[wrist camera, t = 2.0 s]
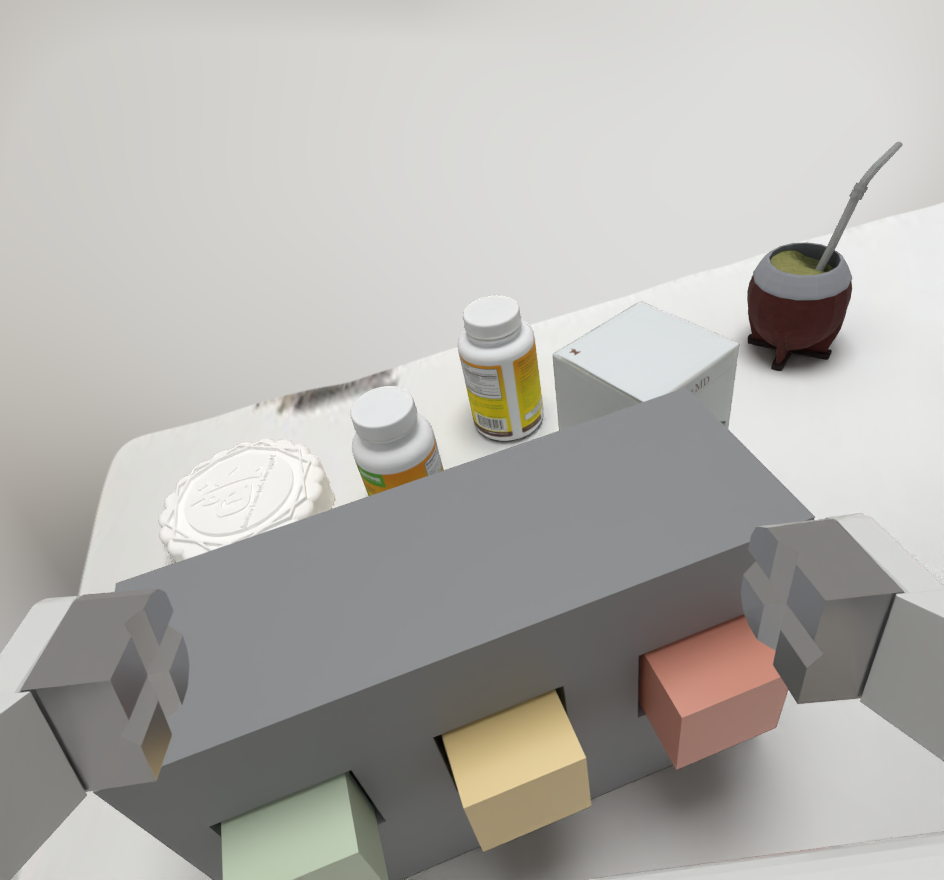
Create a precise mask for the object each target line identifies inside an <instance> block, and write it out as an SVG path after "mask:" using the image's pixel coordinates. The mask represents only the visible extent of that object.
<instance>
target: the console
mask: <svg viewBox="0 0 944 880" xmlns="http://www.w3.org/2000/svg"><path fill="white" fill-rule="evenodd" d="M814 518H815V516H814V515H813V514H812V513H811V512H810V511H809V510H808V509H807V508H806V507H805V506H804V505H803V504H802V503H801V502H800V501H799V500H798V499H797V498H796V497H795V496H794V495H793V494H792V493H791V492H790V491H789V490H788V489H787V488H786V487H785V486H784V485H783V484H782V483H781V482H780V481H779V480H778V479H777V478H776V477H775V476H774V475H773V474H772V473H771V472H770V471H769V470H768V469H767V468H766V467H765V466H764V465H763V464H762V463H761V462H760V461H759V460H758V459H757V458H756V457H755V456H754V455H753V454H752V453H751V452H750V451H749V450H748V449H747V448H746V447H745V446H744V445H743V444H742V443H741V442H740V441H739V440H738V439H737V438H736V437H735V436H734V435H733V434H732V433H731V432H730V431H729V430H728V429H727V428H726V427H725V426H724V425H723V424H722V423H721V422H720V421H719V420H718V419H717V418H716V417H715V416H714V415H713V414H712V413H711V412H710V411H709V410H708V409H707V408H706V407H705V406H704V405H703V404H702V403H701V402H700V401H699V400H698V399H697V398H696V397H695V395H694V394H693V393H692V392H691V391H690V390H689V389H688V388H687V387H685V388H682V389H680V390H677V391H674V392H671V393H668V394H665V395H662V396H659V397H656V398H653V399H650V400H648V401H645V402H642V403H639V404H636V405H633V406H630V407H627V408H624V409H621V410H619V411H616V412H613V413H610V414H607V415H604V416H601V417H598V418H595V419H592V420H589V421H587V422H584V423H581V424H578V425H575V426H572V427H569V428H566V429H563V430H560V431H557V432H555V433H552V434H549V435H546V436H543V437H540V438H537V439H534V440H531V441H528V442H526V443H523V444H520V445H517V446H514V447H511V448H508V449H505V450H502V451H499V452H496V453H494V454H491V455H488V456H485V457H482V458H479V459H476V460H473V461H470V462H467V463H464V464H462V465H459V466H456V467H453V468H450V469H447V470H444V471H441V472H438V473H435V474H433V475H430V476H427V477H424V478H421V479H418V480H415V481H412V482H409V483H406V484H403V485H401V486H398V487H395V488H392V489H389V490H386V491H383V492H380V493H377V494H374V495H371V496H369V497H366V498H363V499H360V500H357V501H354V502H351V503H348V504H345V505H342V506H340V507H337V508H334V509H331V510H328V511H325V512H322V513H319V514H316V515H313V516H310V517H308V518H305V519H302V520H299V521H296V522H293V523H290V524H287V525H284V526H281V527H278V528H276V529H273V530H270V531H267V532H264V533H261V534H258V535H255V536H252V537H249V538H247V539H244V540H241V541H238V542H235V543H232V544H229V545H226V546H223V547H220V548H217V549H215V550H212V551H209V552H206V553H203V554H200V555H197V556H194V557H191V558H188V559H186V560H183V561H180V562H177V563H174V564H171V565H168V566H165V567H162V568H159V569H156V570H154V571H151V572H148V573H145V574H142V575H139V576H136V577H133V578H130V579H127V580H124V581H122V582H119V583H116V588H115V592H124V591H136V590H148V589H160V590H162V591H164V592H166V594H167V596H168V598H169V601H170V603H171V606H172V608H173V610H174V611H173V614H172V616H171V619H170V621H169V624H168V626H170V627H171V628H173V629H174V630H176V631H177V632H179V633H180V634H182V635H183V638H184V641H185V644H186V646H187V650H188V657H189V664H190V666H189V678H188V688H187V691H186V694H185V698H184V701H183V704H182V706H181V707H180V708H179V709H178V710H177V711H176V712H175V713H174V714H173V715H171V716H170V717H169V718H168V719H167V723H168V725H169V728H170V730H171V733H172V737H171V740H170V743H169V746H168V749H167V752H166V755H165V758H164V760H163V763H162V766H161V769H160V772H159V775H158V778H157V781H155V782H148V783H141V784H135V785H128V786H121V787H114V788H108V789H101V790H94V791H93V793H94V794H96V795H97V796H99V797H100V798H101V799H103V800H104V801H105V802H107V803H108V804H110V805H111V806H112V807H114V808H115V809H116V810H118V811H119V812H121V813H122V814H123V815H125V816H126V817H127V818H129V819H130V820H132V821H133V822H134V823H136V824H137V825H139V826H140V827H141V828H143V829H144V830H145V831H147V832H148V833H150V834H151V835H152V836H154V837H155V838H156V839H158V840H159V841H161V842H162V843H163V844H165V845H166V846H167V847H169V848H170V849H172V850H173V851H174V852H176V853H177V854H178V855H180V856H181V857H183V858H184V859H185V860H187V861H188V862H189V863H191V864H192V865H194V866H195V867H196V868H198V869H199V870H200V871H202V872H203V873H205V874H206V875H207V876H209V877H210V878H211V879H213V880H223V869H222V837H221V822H222V821H224V820H227V819H229V818H232V817H234V816H237V815H240V814H242V813H245V812H247V811H250V810H252V809H255V808H257V807H260V806H262V805H265V804H267V803H270V802H272V801H275V800H277V799H280V798H282V797H285V796H287V795H290V794H292V793H295V792H297V791H300V790H302V789H305V788H307V787H310V786H312V785H315V784H317V783H320V782H323V781H325V780H328V779H330V778H333V777H335V776H338V775H340V774H343V773H345V772H348V771H349V773H350V774H351V775H352V777H353V778H354V780H355V781H356V783H357V784H358V786H359V787H360V789H361V790H362V791H363V793H364V794H365V796H366V797H367V799H368V800H369V802H370V803H371V805H372V806H373V808H374V809H375V814H376V819H377V824H378V829H379V834H380V839H381V844H382V849H383V854H384V860H385V865H386V870H387V875H388V880H402V879H404V878H407V877H409V876H411V875H414V874H416V873H418V872H421V871H423V870H426V869H428V868H430V867H433V866H435V865H437V864H440V863H442V862H444V861H447V860H449V859H452V858H454V857H456V856H459V855H461V854H463V853H466V852H468V851H470V850H473V849H475V848H477V847H480V844H479V842H478V840H477V837H476V835H475V833H474V831H473V828H472V826H471V824H470V822H469V820H468V817H467V815H466V813H465V811H464V808H463V805H462V802H461V798H460V795H459V791H458V788H457V785H456V781H455V778H454V774H453V771H452V768H451V764H450V761H449V758H448V754H447V751H446V747H445V744H444V741H443V737H442V734H443V733H446V732H448V731H451V730H453V729H456V728H458V727H461V726H463V725H466V724H468V723H471V722H473V721H476V720H478V719H481V718H483V717H486V716H489V715H491V714H494V713H496V712H499V711H501V710H504V709H506V708H509V707H511V706H514V705H516V704H519V703H521V702H524V701H526V700H529V699H531V698H534V697H536V696H539V695H541V694H544V693H546V692H549V691H551V690H554V689H555V690H556V692H557V695H558V697H559V699H560V701H561V703H562V706H563V708H564V710H565V712H566V714H567V717H568V719H569V721H570V723H571V725H572V728H573V730H574V732H575V734H576V736H577V739H578V741H579V743H580V745H581V747H582V750H583V752H584V754H585V756H586V761H587V770H588V780H589V789H590V798H591V799H593V798H595V797H598V796H600V795H603V794H605V793H607V792H610V791H612V790H614V789H617V788H619V787H621V786H624V785H626V784H629V783H631V782H633V781H636V780H638V779H640V778H643V777H645V776H647V775H650V774H652V773H654V772H657V771H659V770H662V769H664V768H666V767H669V766H671V765H673V763H672V761H671V759H670V758H669V756H668V754H667V752H666V750H665V748H664V747H663V745H662V743H661V741H660V739H659V738H658V736H657V734H656V732H655V730H654V728H653V727H652V725H651V723H650V721H649V719H648V718H647V716H646V714H645V712H644V710H643V708H642V707H641V705H640V703H639V655H642V654H644V653H647V652H649V651H652V650H655V649H657V648H660V647H662V646H665V645H667V644H670V643H672V642H675V641H677V640H680V639H682V638H685V637H687V636H690V635H692V634H695V633H697V632H700V631H702V630H705V629H707V628H710V627H712V626H715V625H717V624H720V623H722V622H725V621H727V620H730V619H732V618H735V617H738V616H740V615H743V614H744V612H743V605H742V598H741V587H742V580H743V574H744V573H745V572H746V571H747V570H748V569H749V568H750V567H751V566H752V565H753V564H754V562H755V561H756V560H755V559H754V557H753V556H752V555H751V553H750V552H749V550H748V547H749V542H750V537H751V534H752V533H753V531H754V530H755V528H756V526H765V525H774V524H783V523H792V522H801V521H810V520H814Z"/></svg>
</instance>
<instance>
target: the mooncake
mask: <svg viewBox="0 0 944 880" xmlns="http://www.w3.org/2000/svg"><path fill="white" fill-rule="evenodd" d="M334 501H335V496H334V493H333V491H332V489H331V486H330V482H329V480H328V478H327V475H326V473H325V471H324V468H323V466H322V464H321V461H320V459H319V458H318V457H317V456H316V455H314V454H311V453H310V451H309V449H308V448H307V447H306V446H304V445H294V443H293V442H292V441H290V440H279V441H276V442H275V441H273V440H271V439H262V440H259V441H257V442H255V443H250V442H245V443H241V444H238V445H236V446H235V447H233V448H232V449H231V450H223V451H220V452H218V453H216V454H215V455H214V456H213V457H212V459H211V460H209V461H204V462H201V463H199V464H198V465H197V466H196V467H195V468H193V470H192V471H191V473H190V475H187V476H185V477H183V478H182V479H181V480H180V481H179V482H178V483H177V485H176V491H174V492H173V493H171V494H170V495H169V496H168V497H167V498H166V500H165V502H164V507H165V510H164V511H163V512H162V513H161V514H160V516H159V519H158V522H159V525H160V527H161V528H162V529H161V531H160V534H159V537H160V540H161V542H162V543H163V544H164V546H165V547H166V548H167V550H168V552H169V554H170V555H171V556H172V558H173V559H174V560H175V562H176V563H177V562H180V561H183V560H186V559H188V558H191V557H194V556H197V555H200V554H203V553H206V552H209V551H212V550H215V549H217V548H220V547H223V546H226V545H229V544H232V543H235V542H238V541H241V540H244V539H247V538H249V537H252V536H255V535H258V534H261V533H264V532H267V531H270V530H273V529H276V528H278V527H281V526H284V525H287V524H290V523H293V522H296V521H299V520H302V519H305V518H308V517H310V516H313V515H316V514H319V513H322V512H325V511H328V510H331V509H332V508H331V506H332V505H333V503H334Z"/></svg>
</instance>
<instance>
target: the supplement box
mask: <svg viewBox="0 0 944 880" xmlns="http://www.w3.org/2000/svg"><path fill="white" fill-rule="evenodd" d="M738 350H739V343H737V342H735V341H733V340H730V339H728V338H726V337H724V336H721V335H719V334H717V333H714V332H712V331H710V330H707V329H705V328H703V327H700V326H698V325H696V324H693V323H691V322H689V321H686V320H684V319H682V318H679V317H677V316H674V315H672V314H669V313H667V312H665V311H662V310H660V309H658V308H656V307H653V306H651V305H649V304H647V303H645V302H642V301H641V302H638V303H636V304H634V305H633V306H631V307H629V308H628V309H626V310H625V311H623V312H621V313H620V314H618V315H616V316H615V317H613V318H611V319H610V320H608V321H606V322H605V323H603V324H602V325H600V326H598V327H596V328H594V329H593V330H591V331H590V332H588V333H587V334H585V335H583V336H582V337H580V338H579V339H577V340H575V341H574V342H572V343H570V344H568V345H567V346H565V347H564V348H562V349H560V350H558V351H556V352H555V353H553V367H554V377H555V390H556V401H557V412H558V424H559V431H560V430H563V429H566V428H569V427H572V426H575V425H578V424H581V423H584V422H587V421H589V420H592V419H595V418H598V417H601V416H604V415H607V414H610V413H613V412H616V411H619V410H621V409H624V408H627V407H630V406H633V405H636V404H639V403H642V402H645V401H648V400H650V399H653V398H656V397H659V396H662V395H665V394H668V393H671V392H674V391H677V390H680V389H682V388H685V387H687V388H688V389H689V390H690V391H691V392H692V393H693V394H694V395H695V397H696V398H697V399H698V400H699V401H700V402H701V403H702V404H703V405H704V406H705V407H706V408H707V409H708V410H709V411H710V412H711V413H712V414H713V415H714V416H715V417H716V418H717V419H718V420H719V421H720V422H721V423H722V424H723V425H724V426H725V427H726V428H727V429H728V426H729V418H730V411H731V403H732V396H733V388H734V380H735V373H736V366H737V357H738Z"/></svg>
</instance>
